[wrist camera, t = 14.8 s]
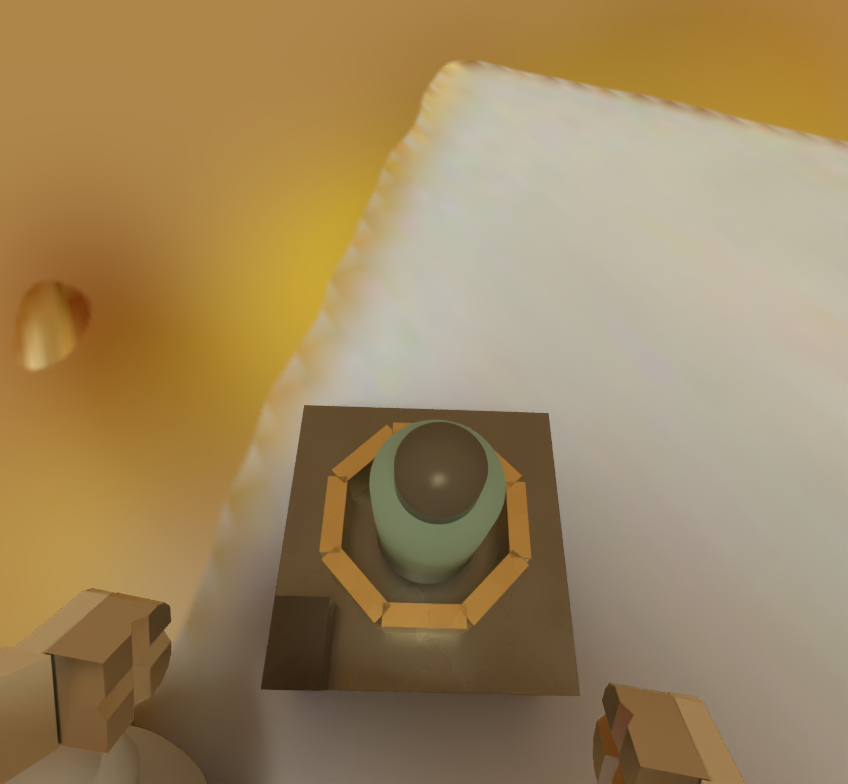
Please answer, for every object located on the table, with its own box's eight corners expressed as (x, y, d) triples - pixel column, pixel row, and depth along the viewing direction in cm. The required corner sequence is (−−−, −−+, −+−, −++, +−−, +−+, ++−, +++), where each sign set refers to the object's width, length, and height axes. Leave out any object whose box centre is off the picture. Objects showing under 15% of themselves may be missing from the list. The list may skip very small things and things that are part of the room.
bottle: (478, 586, 21) (518, 544, 14) (371, 580, 21) (359, 534, 14) (477, 484, 23) (512, 403, 16) (381, 478, 23) (374, 394, 16)
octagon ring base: (542, 692, 25) (601, 697, 17) (291, 687, 24) (242, 689, 17) (524, 459, 30) (561, 388, 23) (321, 453, 30) (294, 379, 23)
